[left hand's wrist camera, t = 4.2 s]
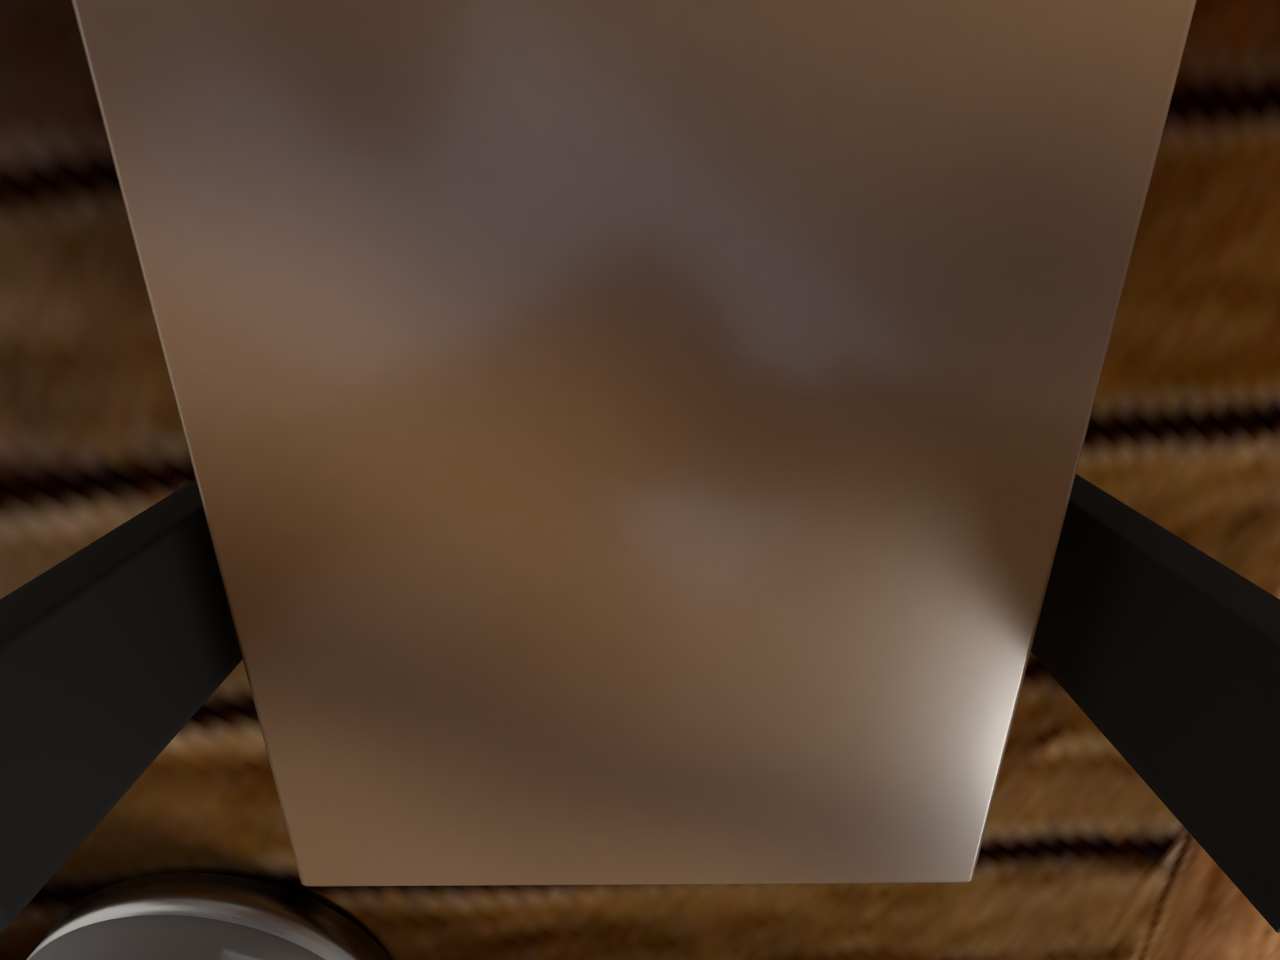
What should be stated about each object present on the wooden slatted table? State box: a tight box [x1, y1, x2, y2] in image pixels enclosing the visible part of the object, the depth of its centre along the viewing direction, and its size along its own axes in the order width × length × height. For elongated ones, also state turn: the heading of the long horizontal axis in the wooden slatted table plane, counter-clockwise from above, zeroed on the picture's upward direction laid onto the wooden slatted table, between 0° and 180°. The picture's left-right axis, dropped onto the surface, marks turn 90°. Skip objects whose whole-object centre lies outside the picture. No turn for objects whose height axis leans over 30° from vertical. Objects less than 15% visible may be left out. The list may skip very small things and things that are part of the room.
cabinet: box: [71, 0, 1196, 886], centre depth 12 cm, size 21×11×12 cm, turn 0°
